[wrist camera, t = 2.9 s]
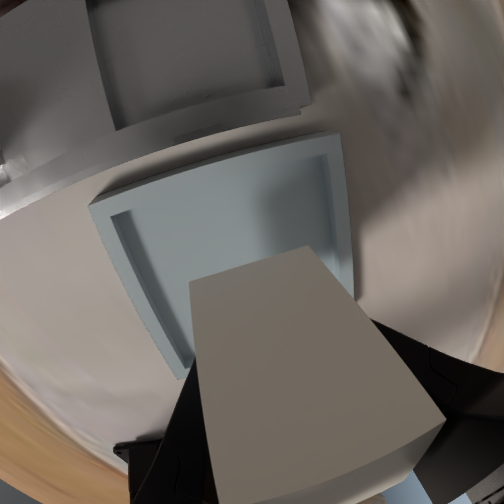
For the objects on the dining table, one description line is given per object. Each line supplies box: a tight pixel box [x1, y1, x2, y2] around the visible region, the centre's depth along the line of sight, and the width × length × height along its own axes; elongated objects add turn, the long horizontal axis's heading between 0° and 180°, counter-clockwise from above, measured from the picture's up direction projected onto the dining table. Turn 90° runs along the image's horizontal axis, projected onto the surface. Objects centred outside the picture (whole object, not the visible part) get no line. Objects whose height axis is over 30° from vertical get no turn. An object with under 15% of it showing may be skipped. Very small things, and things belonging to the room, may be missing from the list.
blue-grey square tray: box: [88, 131, 354, 380], centre depth 13 cm, size 10×10×1 cm
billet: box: [189, 245, 447, 504], centre depth 8 cm, size 4×4×7 cm
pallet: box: [0, 0, 312, 219], centre depth 8 cm, size 8×17×2 cm, turn 103°
